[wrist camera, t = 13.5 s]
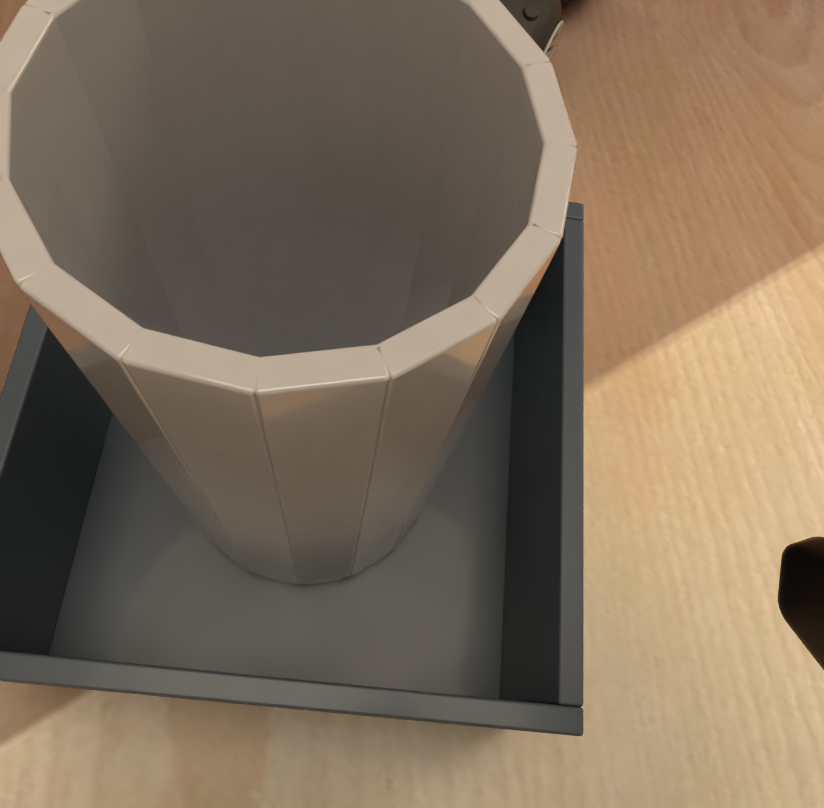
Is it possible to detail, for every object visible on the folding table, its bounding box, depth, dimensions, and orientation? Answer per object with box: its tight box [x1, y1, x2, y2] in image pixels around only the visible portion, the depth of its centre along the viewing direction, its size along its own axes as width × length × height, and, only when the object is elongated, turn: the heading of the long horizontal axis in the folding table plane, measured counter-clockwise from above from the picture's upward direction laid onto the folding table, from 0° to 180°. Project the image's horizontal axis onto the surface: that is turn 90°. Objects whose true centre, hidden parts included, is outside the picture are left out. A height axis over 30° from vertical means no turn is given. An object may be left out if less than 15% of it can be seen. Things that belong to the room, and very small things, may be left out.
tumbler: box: [0, 0, 577, 584], centre depth 14 cm, size 6×6×13 cm
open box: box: [0, 202, 583, 736], centre depth 18 cm, size 12×12×6 cm
